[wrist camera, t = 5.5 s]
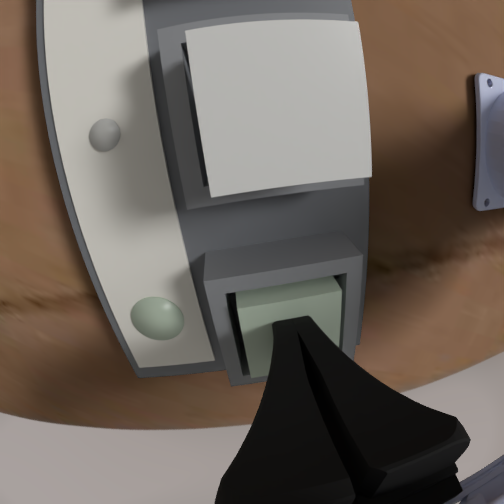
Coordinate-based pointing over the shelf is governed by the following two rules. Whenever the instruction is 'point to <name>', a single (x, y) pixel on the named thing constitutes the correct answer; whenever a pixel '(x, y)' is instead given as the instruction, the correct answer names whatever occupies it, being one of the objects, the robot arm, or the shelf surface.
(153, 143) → the pattern card
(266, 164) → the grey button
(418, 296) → the shelf surface
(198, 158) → the button board
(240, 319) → the sage button
